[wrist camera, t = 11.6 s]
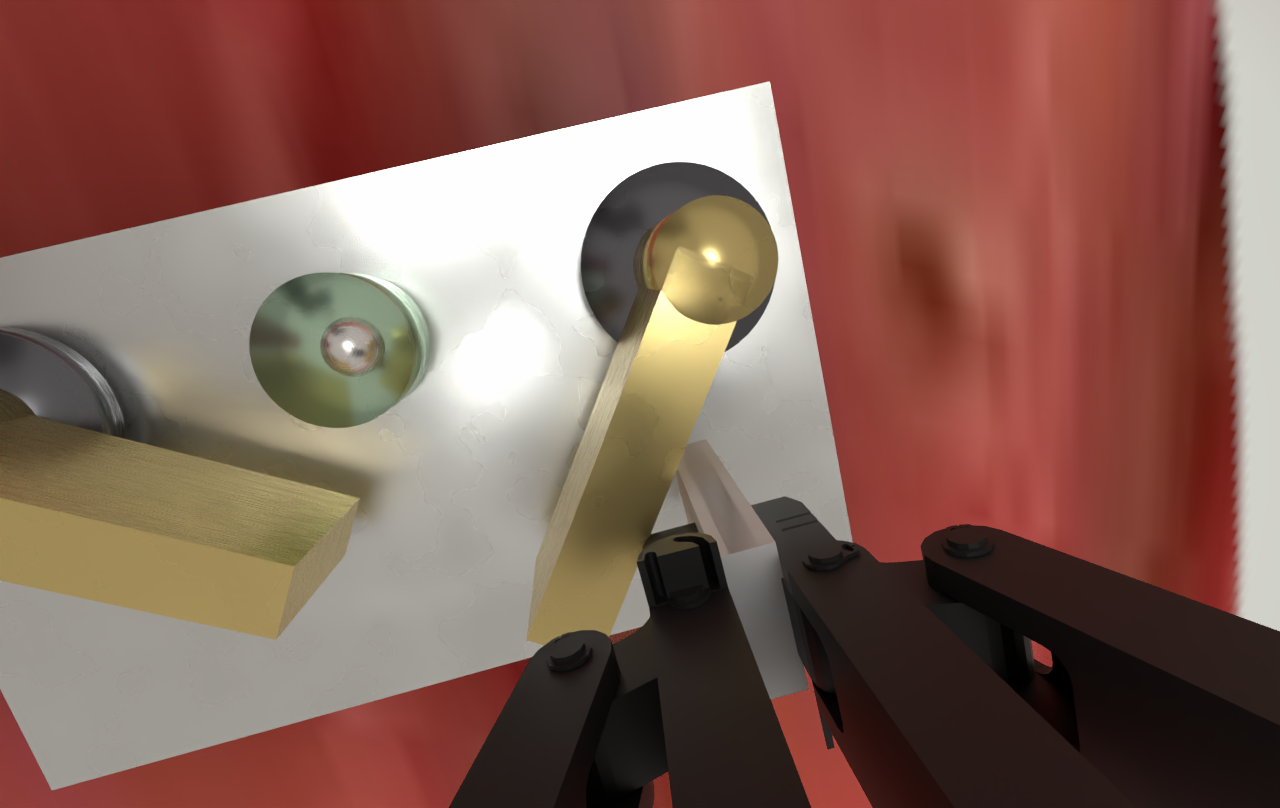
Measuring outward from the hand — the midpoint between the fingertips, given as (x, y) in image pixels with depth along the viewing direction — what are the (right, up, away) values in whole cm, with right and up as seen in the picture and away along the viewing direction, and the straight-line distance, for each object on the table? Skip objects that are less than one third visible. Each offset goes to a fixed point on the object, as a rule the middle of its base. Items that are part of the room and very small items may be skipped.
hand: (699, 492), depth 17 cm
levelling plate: (-8, +1, +3) cm, 9 cm away
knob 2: (-2, +3, +1) cm, 4 cm away
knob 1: (-14, +1, 0) cm, 14 cm away
